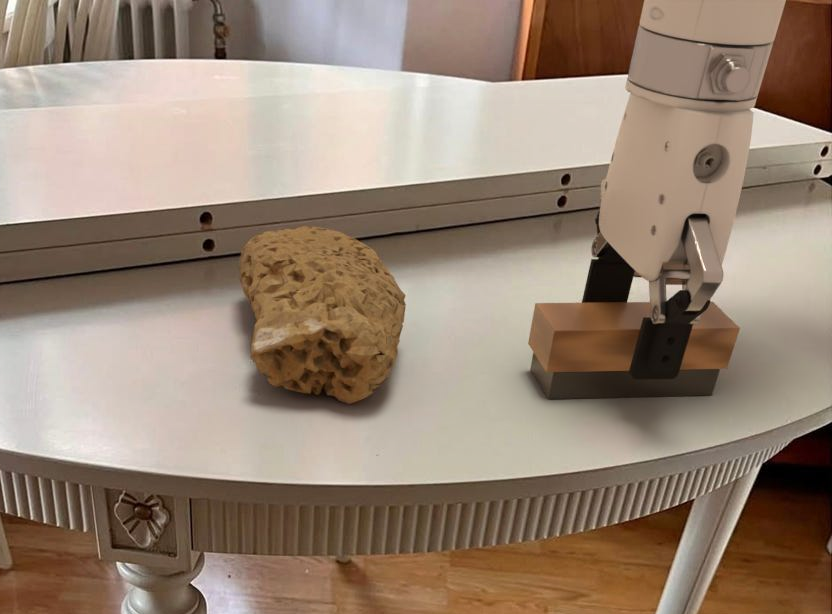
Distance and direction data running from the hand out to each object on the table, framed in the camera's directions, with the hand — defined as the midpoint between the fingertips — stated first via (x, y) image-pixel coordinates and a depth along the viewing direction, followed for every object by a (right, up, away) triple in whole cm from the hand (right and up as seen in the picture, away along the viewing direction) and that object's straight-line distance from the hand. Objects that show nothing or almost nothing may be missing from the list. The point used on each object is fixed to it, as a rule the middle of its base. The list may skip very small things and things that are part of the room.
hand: (625, 344), depth 69 cm
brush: (0, -2, +2) cm, 3 cm away
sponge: (-22, +1, +4) cm, 22 cm away
